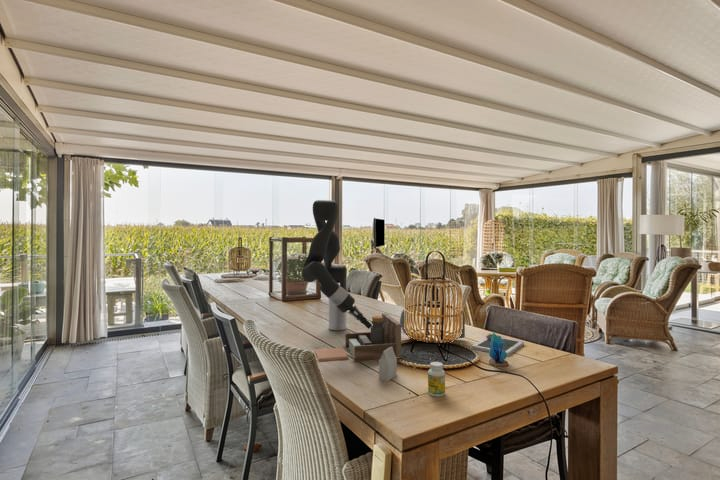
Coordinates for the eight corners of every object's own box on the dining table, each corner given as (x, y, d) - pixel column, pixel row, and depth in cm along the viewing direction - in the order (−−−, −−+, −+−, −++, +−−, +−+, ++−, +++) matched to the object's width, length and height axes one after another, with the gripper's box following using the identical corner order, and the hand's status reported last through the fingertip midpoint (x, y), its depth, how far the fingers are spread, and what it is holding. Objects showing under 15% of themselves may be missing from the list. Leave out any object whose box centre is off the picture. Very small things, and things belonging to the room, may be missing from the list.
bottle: (380, 354, 165) (380, 319, 165) (368, 352, 168) (368, 317, 168) (386, 351, 170) (386, 316, 170) (374, 348, 173) (374, 314, 173)
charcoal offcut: (358, 349, 174) (358, 335, 173) (365, 348, 174) (365, 335, 174) (364, 357, 162) (364, 343, 162) (371, 357, 162) (371, 342, 162)
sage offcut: (349, 349, 174) (349, 339, 173) (355, 348, 174) (355, 338, 174) (355, 359, 160) (355, 348, 160) (363, 359, 161) (363, 348, 160)
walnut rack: (345, 346, 177) (345, 315, 176) (386, 343, 181) (386, 313, 181) (355, 362, 156) (355, 326, 156) (401, 358, 161) (401, 324, 160)
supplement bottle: (448, 393, 127) (448, 363, 127) (438, 398, 123) (439, 368, 123) (434, 388, 131) (434, 359, 130) (424, 393, 127) (424, 363, 127)
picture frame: (490, 339, 190) (471, 350, 174) (490, 334, 189) (471, 343, 174) (524, 346, 179) (507, 357, 164) (524, 340, 179) (507, 351, 163)
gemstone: (485, 364, 153) (485, 334, 153) (492, 358, 160) (493, 329, 160) (504, 369, 149) (505, 337, 148) (511, 362, 156) (512, 332, 155)
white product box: (396, 374, 143) (396, 347, 143) (388, 381, 137) (388, 352, 137) (387, 372, 145) (387, 345, 145) (378, 379, 139) (378, 350, 139)
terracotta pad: (315, 351, 169) (315, 349, 169) (342, 349, 172) (342, 347, 172) (318, 361, 157) (318, 358, 157) (348, 358, 160) (348, 356, 160)
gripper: (350, 295, 158) (378, 322, 161) (344, 289, 172) (369, 314, 175) (337, 308, 157) (365, 335, 160) (332, 302, 171) (358, 327, 174)
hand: (367, 324), depth 168 cm, fingers open, 8 cm apart
